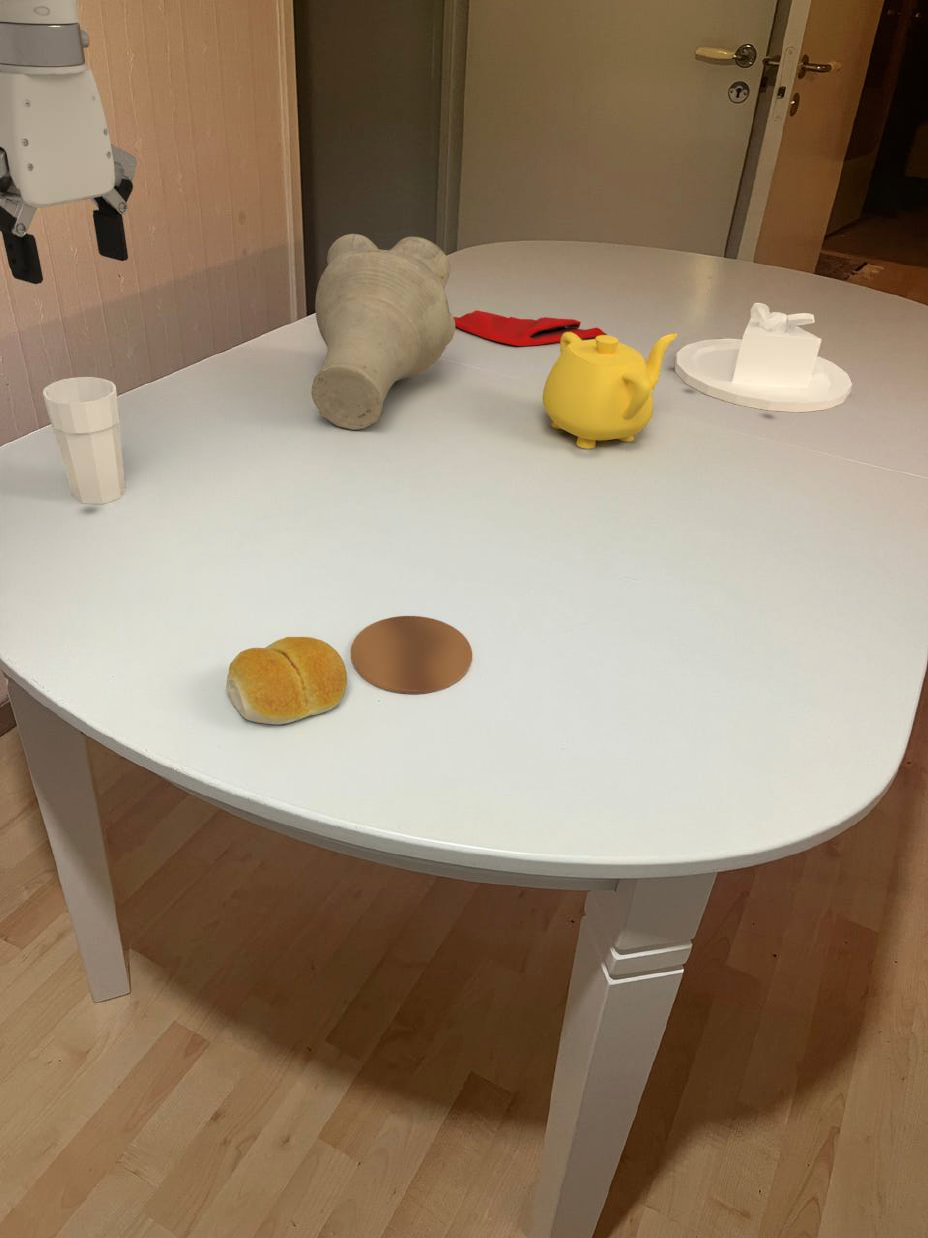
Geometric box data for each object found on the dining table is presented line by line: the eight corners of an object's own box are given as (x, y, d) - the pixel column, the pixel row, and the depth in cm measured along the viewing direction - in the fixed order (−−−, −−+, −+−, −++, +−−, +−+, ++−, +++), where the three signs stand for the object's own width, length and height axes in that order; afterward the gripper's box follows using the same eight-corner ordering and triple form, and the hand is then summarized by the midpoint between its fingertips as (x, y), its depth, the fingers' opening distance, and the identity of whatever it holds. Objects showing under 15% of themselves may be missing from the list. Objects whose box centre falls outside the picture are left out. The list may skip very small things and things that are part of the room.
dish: (875, 416, 125) (903, 334, 118) (691, 405, 124) (710, 321, 117) (818, 352, 145) (840, 278, 138) (660, 342, 144) (674, 267, 137)
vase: (430, 359, 96) (483, 229, 113) (229, 301, 95) (313, 180, 113) (404, 506, 112) (453, 373, 130) (232, 457, 112) (305, 331, 130)
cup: (50, 499, 93) (27, 395, 87) (93, 471, 98) (74, 372, 92) (105, 513, 92) (86, 409, 85) (146, 485, 97) (130, 384, 90)
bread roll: (364, 704, 71) (364, 663, 69) (254, 742, 67) (250, 700, 65) (318, 645, 77) (317, 606, 74) (213, 677, 72) (208, 637, 70)
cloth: (425, 332, 141) (426, 317, 139) (453, 307, 151) (454, 293, 150) (593, 361, 135) (595, 345, 134) (609, 332, 146) (612, 318, 145)
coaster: (375, 706, 71) (375, 702, 71) (334, 632, 78) (334, 629, 78) (492, 677, 75) (492, 674, 74) (442, 610, 82) (442, 606, 82)
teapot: (647, 465, 108) (666, 368, 101) (528, 443, 111) (539, 347, 104) (660, 420, 119) (679, 329, 112) (552, 401, 122) (563, 311, 115)
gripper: (85, 39, 81) (115, 243, 91) (-98, 46, 69) (-40, 281, 79) (148, 48, 79) (172, 257, 89) (-31, 57, 66) (21, 299, 76)
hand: (72, 268), depth 84 cm, fingers open, 9 cm apart
